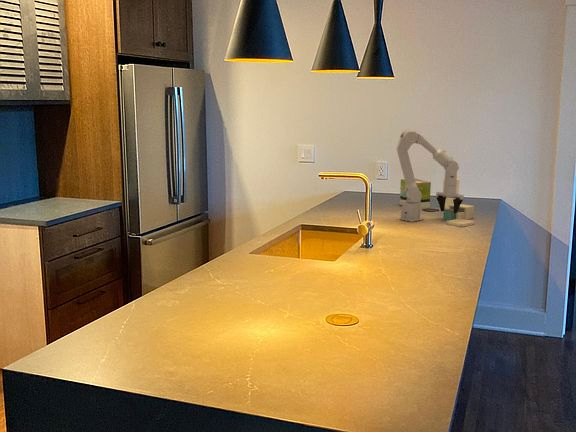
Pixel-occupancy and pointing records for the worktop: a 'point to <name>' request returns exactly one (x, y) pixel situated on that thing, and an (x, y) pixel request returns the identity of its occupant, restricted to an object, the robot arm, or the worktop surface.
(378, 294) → the worktop surface
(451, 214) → the tall grey-green carton
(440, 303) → the worktop surface
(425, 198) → the tea box
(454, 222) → the tray
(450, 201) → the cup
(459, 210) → the bay
